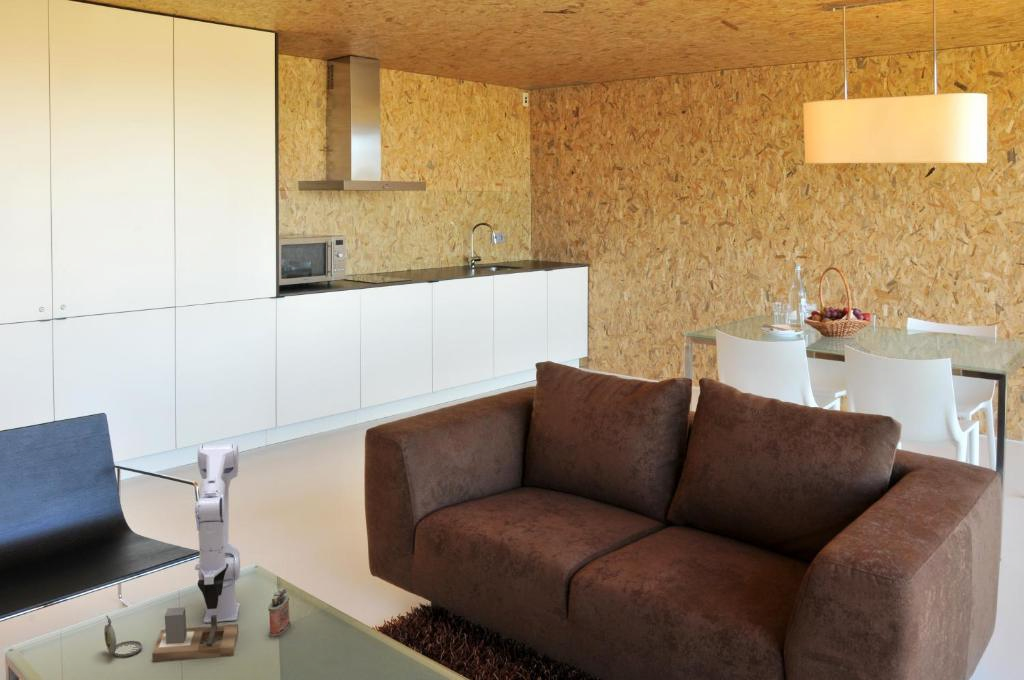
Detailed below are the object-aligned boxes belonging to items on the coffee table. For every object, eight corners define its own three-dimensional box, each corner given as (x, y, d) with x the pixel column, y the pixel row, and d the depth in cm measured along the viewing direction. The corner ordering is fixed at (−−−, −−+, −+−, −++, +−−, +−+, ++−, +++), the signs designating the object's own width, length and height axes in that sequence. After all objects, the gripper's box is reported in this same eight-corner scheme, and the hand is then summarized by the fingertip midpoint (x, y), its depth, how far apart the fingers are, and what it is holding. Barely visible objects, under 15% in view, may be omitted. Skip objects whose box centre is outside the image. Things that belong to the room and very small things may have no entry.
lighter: (279, 638, 232) (277, 599, 231) (266, 637, 233) (264, 598, 231) (293, 623, 240) (291, 586, 238) (280, 622, 241) (279, 584, 239)
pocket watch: (148, 647, 228) (145, 607, 226) (123, 663, 220) (120, 622, 218) (120, 641, 230) (117, 602, 229) (94, 657, 223) (91, 617, 221)
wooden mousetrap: (161, 637, 232) (160, 618, 232) (238, 631, 236) (237, 612, 235) (152, 661, 221) (151, 641, 220) (233, 655, 224) (232, 635, 223)
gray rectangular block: (186, 634, 229) (185, 607, 228) (184, 642, 225) (182, 614, 224) (169, 636, 229) (167, 608, 228) (166, 643, 225) (164, 615, 224)
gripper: (199, 537, 233) (201, 590, 235) (189, 559, 219) (192, 615, 221) (229, 535, 234) (231, 588, 236) (221, 557, 220) (223, 613, 222)
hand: (214, 601), depth 229 cm, fingers open, 7 cm apart
